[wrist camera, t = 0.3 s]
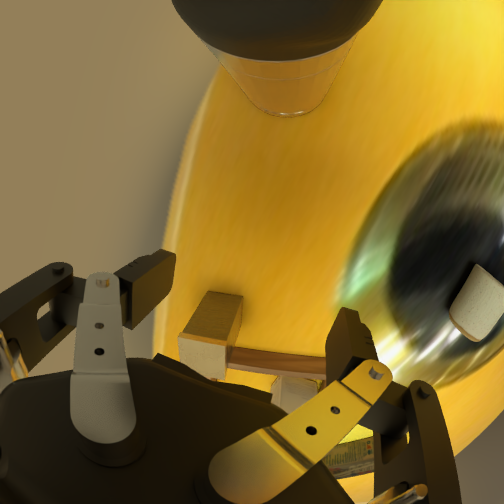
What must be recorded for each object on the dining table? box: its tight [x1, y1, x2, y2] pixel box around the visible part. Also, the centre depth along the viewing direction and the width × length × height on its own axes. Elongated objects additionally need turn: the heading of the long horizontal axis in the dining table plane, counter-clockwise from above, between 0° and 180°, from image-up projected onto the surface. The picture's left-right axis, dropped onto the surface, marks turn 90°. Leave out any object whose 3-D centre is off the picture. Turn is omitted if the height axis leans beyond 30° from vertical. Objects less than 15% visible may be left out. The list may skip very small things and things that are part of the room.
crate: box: [204, 347, 326, 393], centre depth 36 cm, size 12×18×4 cm, turn 86°
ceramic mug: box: [449, 264, 504, 342], centre depth 25 cm, size 11×8×8 cm
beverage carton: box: [322, 437, 374, 479], centre depth 40 cm, size 8×19×7 cm, turn 111°
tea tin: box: [178, 291, 243, 380], centre depth 30 cm, size 5×5×10 cm
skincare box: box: [270, 376, 318, 414], centre depth 32 cm, size 6×4×12 cm
